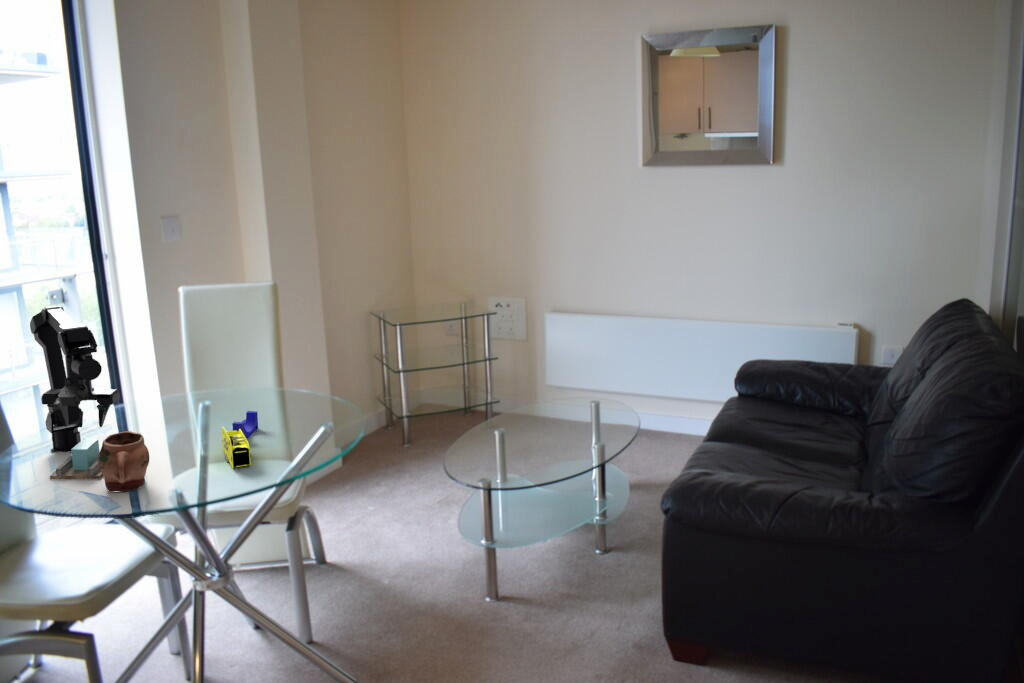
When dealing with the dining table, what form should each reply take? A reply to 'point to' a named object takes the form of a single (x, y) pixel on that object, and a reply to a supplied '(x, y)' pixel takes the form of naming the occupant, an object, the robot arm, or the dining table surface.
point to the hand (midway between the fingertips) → (83, 426)
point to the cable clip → (247, 424)
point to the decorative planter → (123, 461)
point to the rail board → (76, 471)
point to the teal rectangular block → (85, 454)
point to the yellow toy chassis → (236, 448)
